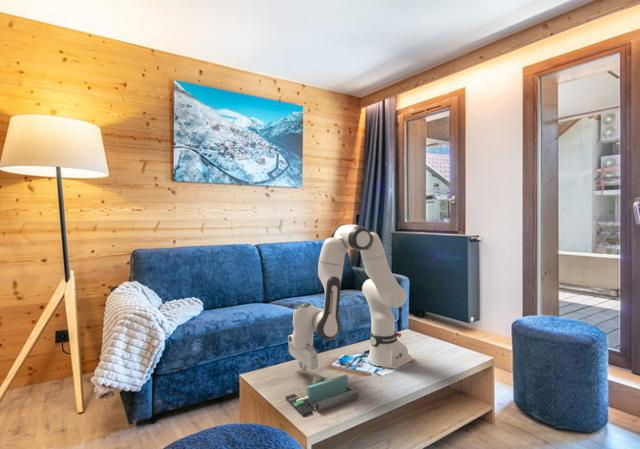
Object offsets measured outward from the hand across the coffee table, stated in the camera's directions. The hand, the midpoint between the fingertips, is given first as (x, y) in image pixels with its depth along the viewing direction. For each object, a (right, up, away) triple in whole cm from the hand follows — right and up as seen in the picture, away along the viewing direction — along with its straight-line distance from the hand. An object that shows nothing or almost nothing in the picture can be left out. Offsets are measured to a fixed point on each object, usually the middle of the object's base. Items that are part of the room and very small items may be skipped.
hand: (303, 371), depth 162 cm
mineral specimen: (+8, -3, -11) cm, 14 cm away
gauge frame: (+9, -3, -18) cm, 20 cm away
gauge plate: (+8, -3, -18) cm, 20 cm away
